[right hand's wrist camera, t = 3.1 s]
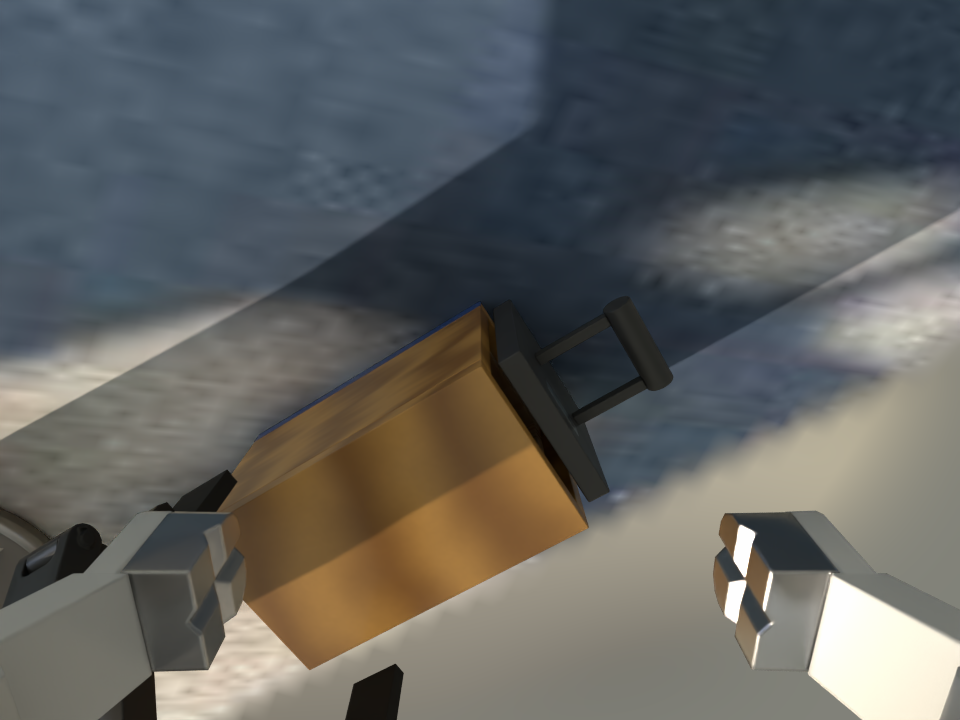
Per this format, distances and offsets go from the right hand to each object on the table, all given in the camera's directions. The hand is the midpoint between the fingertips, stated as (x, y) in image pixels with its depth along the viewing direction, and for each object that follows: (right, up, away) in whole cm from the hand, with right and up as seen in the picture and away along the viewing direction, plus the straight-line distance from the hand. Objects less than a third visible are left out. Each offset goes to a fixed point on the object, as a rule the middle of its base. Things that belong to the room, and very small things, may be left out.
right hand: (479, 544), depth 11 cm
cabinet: (-5, -2, +30) cm, 31 cm away
